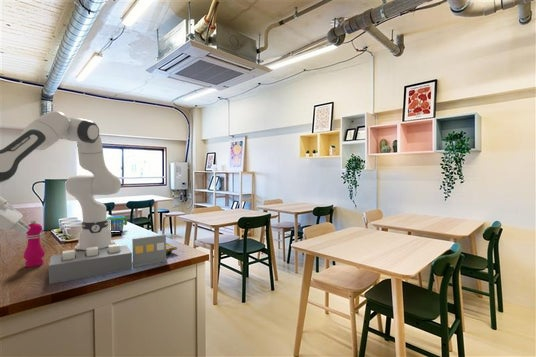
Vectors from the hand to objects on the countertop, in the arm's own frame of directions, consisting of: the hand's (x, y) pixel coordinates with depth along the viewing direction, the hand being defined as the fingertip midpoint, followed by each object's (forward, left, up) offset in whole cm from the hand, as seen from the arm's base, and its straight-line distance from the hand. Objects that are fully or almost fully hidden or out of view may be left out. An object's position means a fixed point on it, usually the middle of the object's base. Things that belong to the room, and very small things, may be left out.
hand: (27, 231), depth 106 cm
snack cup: (-74, +37, -20) cm, 85 cm away
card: (+3, +42, -19) cm, 47 cm away
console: (0, +20, -19) cm, 28 cm away
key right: (0, +28, -14) cm, 32 cm away
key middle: (0, +20, -14) cm, 25 cm away
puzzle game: (-12, +49, -20) cm, 54 cm away
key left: (0, +12, -14) cm, 19 cm away
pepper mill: (-23, -1, -20) cm, 30 cm away
